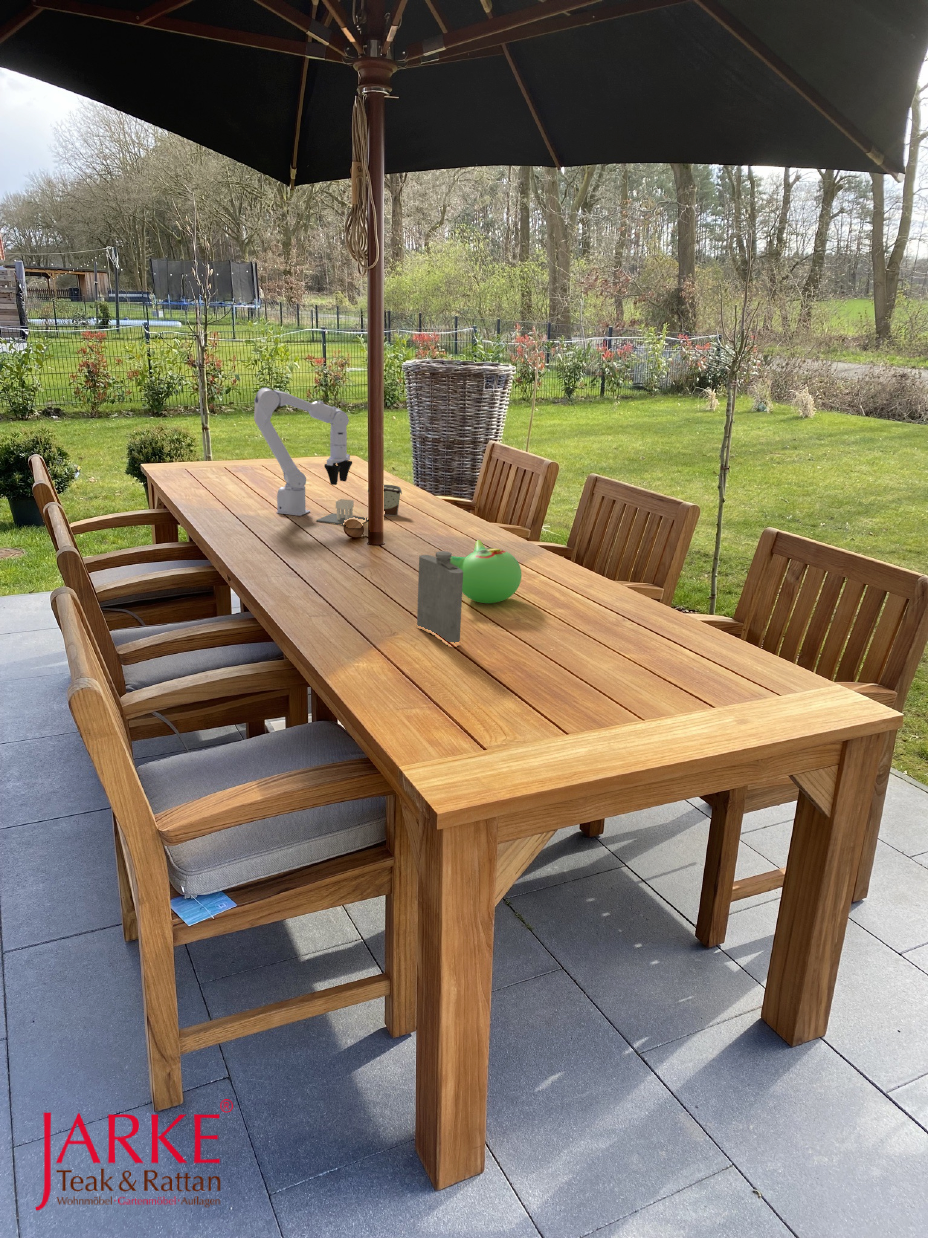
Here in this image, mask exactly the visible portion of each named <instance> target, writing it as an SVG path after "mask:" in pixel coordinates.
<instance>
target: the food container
mask: <svg viewBox="0 0 928 1238" xmlns="http://www.w3.org/2000/svg"><path fill="white" fill-rule="evenodd" d="M383 485H384V511H385V515H384V516H391V517H398V515H399V514H398V513H399V506H400V500H401V499H400V498H401V495H403V492H402V488H401V487H400V486H398V485H394V484H393V485H392V484H383ZM367 493H370V492H369V487H368V488H367Z"/></svg>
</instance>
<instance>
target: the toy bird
mask: <svg viewBox="0 0 928 1238" xmlns="http://www.w3.org/2000/svg"><path fill="white" fill-rule="evenodd" d="M450 559H451V560H450V563H452V564H453V565H455V566H457V567H458V568H460V569H461V570H462V571H463V586H462V594H464V595H465V597H467V598H468V599H470V600H471V601H473V602H477V603H481V604H494V603H495V604H496V603H499V602H503V601H505V600H508V599H509V598H510V597H512V596H513V595H514V594H515V593H516V592H517V590H518V589H519V587H520V584H521V582H522V569H521V568H522V567H521V565H520V563H519V561H518V559H517V558H515V556H514V555H513V554H511V553H510V552H508V551H506V550H503V549H501V548H494V547H485V545H484V544H483V542H482V541H481V540H480V539H477V540H476V541H475V544H474V549H473V552H471V553H469V554H468V555H466V556H455V555H454V556H453V555H451V558H450Z"/></svg>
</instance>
